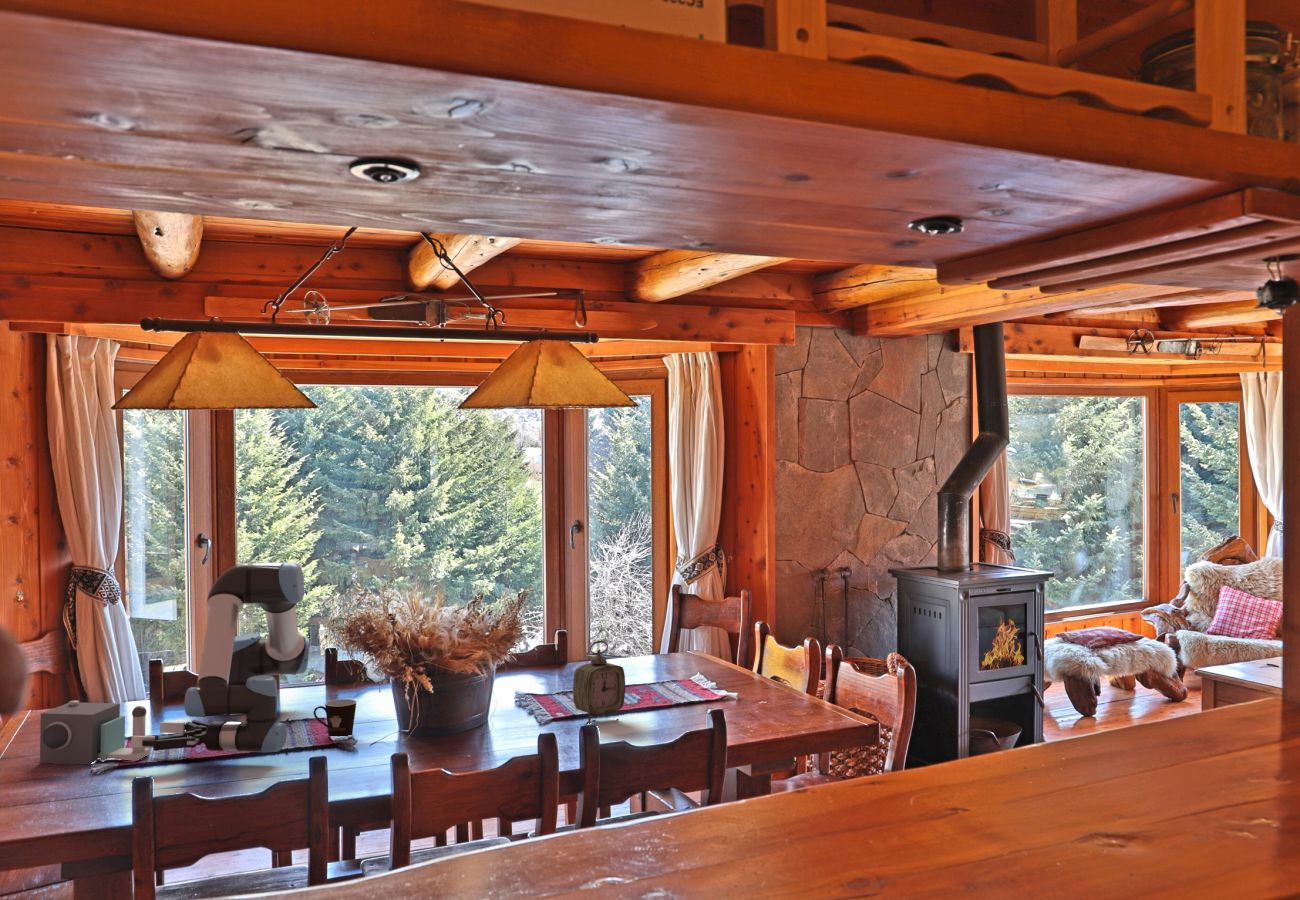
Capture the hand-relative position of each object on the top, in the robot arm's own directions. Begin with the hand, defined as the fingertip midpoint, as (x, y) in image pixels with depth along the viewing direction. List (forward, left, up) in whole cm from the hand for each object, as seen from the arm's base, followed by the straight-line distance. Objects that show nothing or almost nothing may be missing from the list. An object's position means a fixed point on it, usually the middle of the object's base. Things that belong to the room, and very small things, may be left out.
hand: (146, 734), depth 264 cm
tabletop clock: (-124, -8, -7) cm, 125 cm away
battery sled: (+10, -4, -6) cm, 12 cm away
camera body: (+17, -7, -7) cm, 20 cm away
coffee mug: (-48, -11, -7) cm, 50 cm away
